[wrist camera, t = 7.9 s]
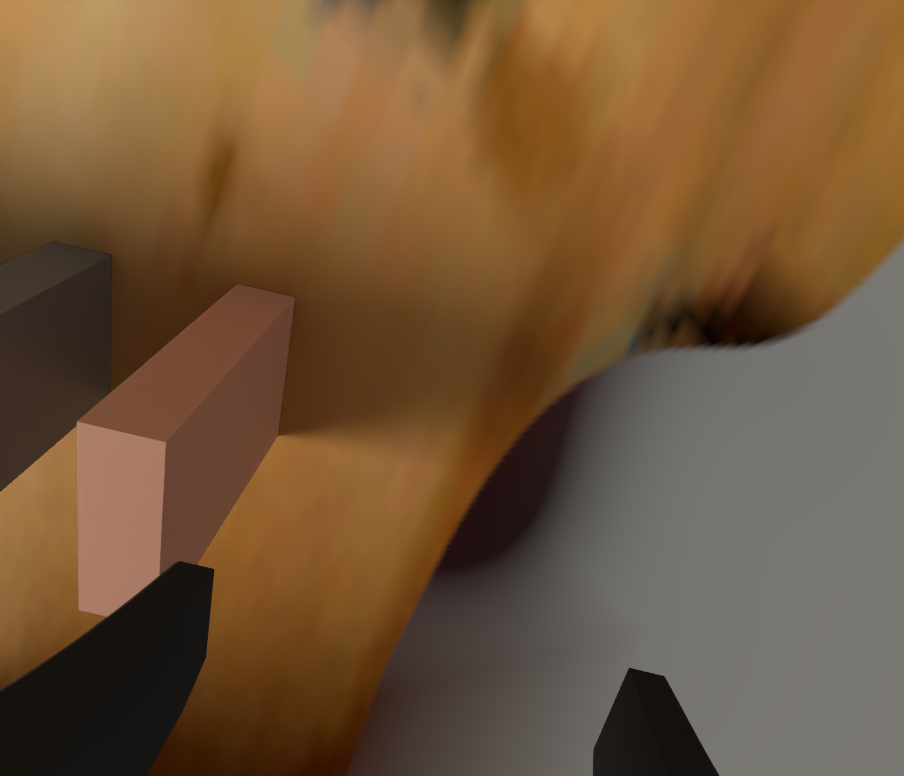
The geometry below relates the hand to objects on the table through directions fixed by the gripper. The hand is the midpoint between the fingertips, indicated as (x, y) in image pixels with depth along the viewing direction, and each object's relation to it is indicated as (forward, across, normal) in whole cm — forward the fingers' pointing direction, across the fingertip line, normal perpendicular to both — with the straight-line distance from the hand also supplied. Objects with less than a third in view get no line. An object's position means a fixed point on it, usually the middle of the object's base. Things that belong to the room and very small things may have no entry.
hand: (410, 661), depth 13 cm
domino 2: (+10, +6, 0) cm, 11 cm away
